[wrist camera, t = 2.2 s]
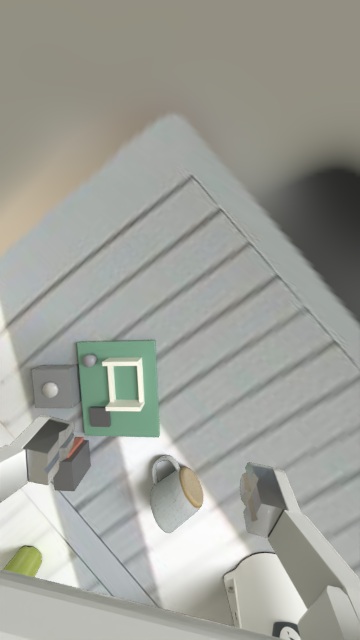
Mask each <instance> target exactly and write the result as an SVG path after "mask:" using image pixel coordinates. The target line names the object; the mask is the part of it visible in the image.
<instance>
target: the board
mask: <svg viewBox="0 0 360 640" xmlns="http://www.w3.org/2000/svg"><path fill="white" fill-rule="evenodd" d="M77 350H78V361H79V373H80V385H81V397H82V409H83V421H84V433H85V435H87V436H127V437H159V435H160V423H159V403H158V383H157V363H156V343H155V340H128V341H82V342H77Z"/></svg>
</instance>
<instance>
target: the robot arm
mask: <svg viewBox="0 0 360 640" xmlns="http://www.w3.org/2000/svg"><path fill="white" fill-rule="evenodd" d="M74 429H75V423H74V422H70V421H66V420H62V419H58V418H55V417H51V416H46V415H41V416H39V417H37V418H36V419H35V420H34V421H33V422H32V423H31V424H30V425H29V426H28V427H27V428H26V429H25V430H24V431H23V432H22V433H21V434H20V435H19V436H18V437H17V438H16V439H15V440H14V441H13V442H12V443H11V444H10V445H9V446H8V445H5V446H3V447H1V448H0V503H1V502H2V501H4V500H5V499H6V498H8V497H9V496H10V495H12V494H13V493H14V492H16V491H17V490H19V489H20V488H21V487H23V486H24V485H25V484H27V483H28V481H29V482H34V483H39V484H44V485H49V483H50V482H51V480H52V479H53V477H54V476H55V474H56V473H57V471H58V470H59V463H60V462H61V461H63V460H64V459H66V457H67V456H68V454H69V453H70V451H71V448H72V446H73V443H74V434H73V433H72V431H73V430H74ZM245 468H246V473H244V474H242V477H241V480H240V495H241V500H242V502H243V503H244V505H245V506H246V507H245V510H244V512H243V513H244V518H245V524H246V529H247V533H251V534H255V535H258V536H262V537H266V538H268V541H269V543H270V544H271V546H272V548H273V550H274V551H275V553H276V554H271V553H261V554H255V555H252V556H250V557H248V558H246V559H245V560H243V561H242V562H241V563H240V564H239V566H238V567H237V568H236V569H235V570H234V571H231V572H229V573H227V574H226V575H225V576H224V584H225V588H226V592H227V596H228V601H229V605H230V609H231V613H232V617H233V621H234V625H235V627H233V626H229V625H225V624H221V623H217V622H213V621H209V620H205V619H201V618H197V617H193V616H189V615H185V614H181V613H177V612H173V611H169V610H165V609H161V608H157V607H153V606H148V605H144V604H140V603H136V602H132V601H128V600H124V599H120V598H116V597H112V596H108V595H104V594H100V593H96V592H92V591H88V590H84V589H80V588H76V587H72V586H68V585H64V584H59V583H55V582H51V581H47V580H43V579H39V578H35V577H31V576H27V575H23V574H19V573H15V572H11V571H7V570H3V569H0V640H360V579H359V578H358V576H357V575H356V574H355V573H354V572H353V571H352V569H351V568H350V567H349V566H348V565H347V563H346V562H345V561H344V560H343V559H342V558H341V556H340V555H339V554H338V553H337V552H336V551H335V549H334V548H333V547H332V546H331V545H330V543H329V542H328V541H327V540H326V539H325V538H324V536H323V535H322V534H321V533H320V532H319V530H318V529H317V528H316V527H315V526H314V525H313V523H312V522H311V521H310V520H309V519H308V518H307V516H306V515H304V514H301V511H300V509H299V506H298V504H297V501H296V499H295V496H294V494H293V491H292V489H291V486H290V484H289V482H288V479H287V477H286V474H285V472H284V471H283V470H282V469H278V468H273V467H270V466H265V465H261V464H256V463H251V462H249V463H247V465H246V467H245Z"/></svg>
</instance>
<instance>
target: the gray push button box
mask: <svg viewBox="0 0 360 640" xmlns="http://www.w3.org/2000/svg"><path fill="white" fill-rule="evenodd" d="M31 372H32V381H33V391H34V400H35V408H73V407H74V406H76V405H77V404H78V403H79V402H80V401H81V397H80V385H79V373H78V365H42V366H40V367H37V368H35V369H32V370H31Z"/></svg>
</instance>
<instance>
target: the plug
mask: <svg viewBox="0 0 360 640" xmlns="http://www.w3.org/2000/svg"><path fill="white" fill-rule="evenodd" d="M90 466H91V463H90V452H89V440H83V437H76V438H75V439H74V443H73V446H72V448H71V451H70V453H69V454H68V456H67V457H66V459H64V460H63V461H61V462H60V463H59V470H58V471H57V473H56V474H55V476H54V477H53V479H54V488H55V490H61V491H75V489H76V488H77V486H78V485H79V483H80V481H81V480H82V478H83V477H84V475H85V474H86V472H87V471H88V469H89V468H90Z"/></svg>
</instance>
